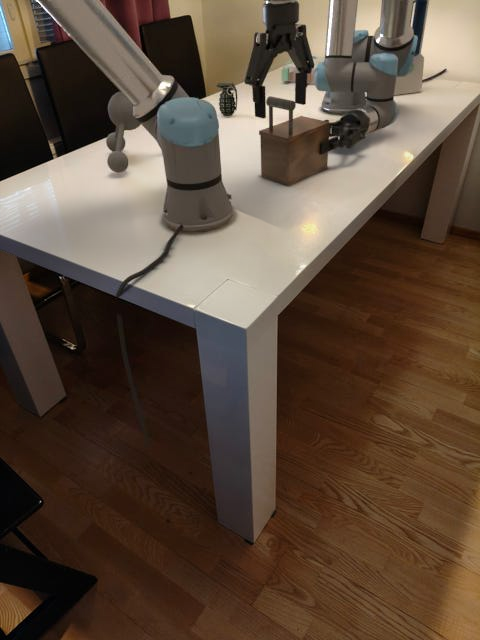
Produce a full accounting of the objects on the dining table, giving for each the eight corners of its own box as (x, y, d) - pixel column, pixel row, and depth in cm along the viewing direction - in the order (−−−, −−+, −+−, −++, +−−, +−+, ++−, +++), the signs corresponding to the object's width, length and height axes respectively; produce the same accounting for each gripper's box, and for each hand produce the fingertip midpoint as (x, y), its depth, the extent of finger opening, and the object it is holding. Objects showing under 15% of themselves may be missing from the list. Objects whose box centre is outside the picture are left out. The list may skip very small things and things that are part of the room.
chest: (288, 185, 119) (288, 142, 112) (261, 176, 124) (260, 134, 118) (327, 167, 127) (329, 126, 120) (300, 159, 132) (301, 119, 126)
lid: (287, 142, 112) (288, 104, 107) (259, 134, 118) (258, 98, 113) (329, 126, 120) (332, 89, 115) (301, 119, 126) (302, 84, 121)
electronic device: (391, 95, 179) (404, -2, 161) (381, 91, 185) (392, -4, 167) (421, 91, 181) (437, -5, 163) (410, 87, 187) (425, -6, 169)
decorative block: (304, 54, 217) (345, 57, 207) (303, 70, 221) (343, 73, 211) (272, 65, 201) (315, 69, 191) (272, 82, 205) (314, 86, 195)
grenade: (217, 117, 168) (214, 86, 162) (221, 112, 172) (219, 82, 166) (235, 117, 166) (233, 86, 160) (239, 113, 171) (238, 82, 165)
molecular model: (192, 164, 133) (178, 39, 115) (111, 178, 128) (83, 49, 109) (169, 139, 151) (154, 28, 132) (98, 152, 145) (72, 36, 127)
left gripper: (306, -6, 108) (303, 96, 122) (223, 8, 96) (230, 120, 109) (333, -5, 104) (327, 100, 117) (250, 9, 91) (254, 126, 104)
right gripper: (390, 145, 132) (339, 169, 120) (325, 130, 145) (273, 150, 133) (394, 116, 127) (341, 138, 115) (327, 103, 140) (273, 121, 128)
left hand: (280, 110), depth 113 cm, fingers open, 13 cm apart
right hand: (305, 144), depth 124 cm, fingers closed on chest, 9 cm apart
